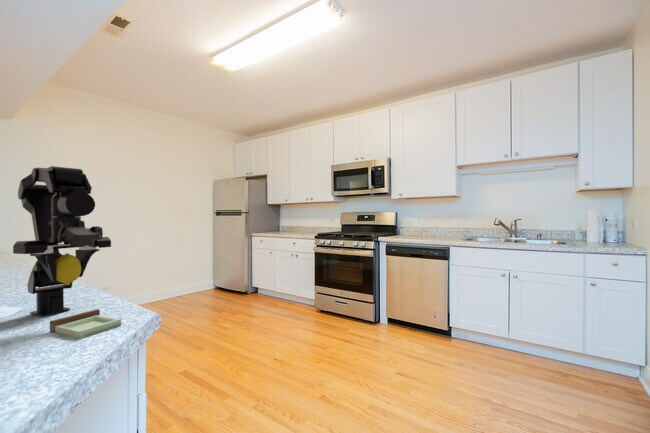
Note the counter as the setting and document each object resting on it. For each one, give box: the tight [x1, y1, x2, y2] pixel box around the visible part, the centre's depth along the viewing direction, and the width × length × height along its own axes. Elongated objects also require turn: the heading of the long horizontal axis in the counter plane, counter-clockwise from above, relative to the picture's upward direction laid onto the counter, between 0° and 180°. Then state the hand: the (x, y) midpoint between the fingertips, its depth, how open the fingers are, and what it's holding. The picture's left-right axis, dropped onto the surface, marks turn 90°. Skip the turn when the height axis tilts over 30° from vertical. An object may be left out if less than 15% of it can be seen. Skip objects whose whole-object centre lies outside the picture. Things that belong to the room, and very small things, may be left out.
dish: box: [54, 315, 122, 340], centre depth 73 cm, size 9×9×2 cm
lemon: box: [55, 253, 81, 285], centre depth 79 cm, size 6×6×8 cm
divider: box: [49, 309, 101, 333], centre depth 76 cm, size 1×10×2 cm, turn 156°
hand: (67, 278), depth 79 cm, fingers closed on lemon, 5 cm apart
